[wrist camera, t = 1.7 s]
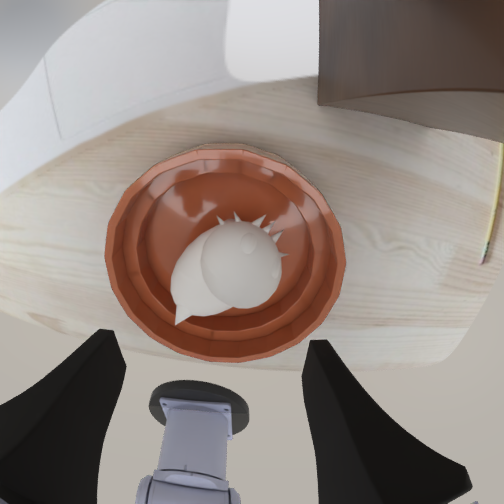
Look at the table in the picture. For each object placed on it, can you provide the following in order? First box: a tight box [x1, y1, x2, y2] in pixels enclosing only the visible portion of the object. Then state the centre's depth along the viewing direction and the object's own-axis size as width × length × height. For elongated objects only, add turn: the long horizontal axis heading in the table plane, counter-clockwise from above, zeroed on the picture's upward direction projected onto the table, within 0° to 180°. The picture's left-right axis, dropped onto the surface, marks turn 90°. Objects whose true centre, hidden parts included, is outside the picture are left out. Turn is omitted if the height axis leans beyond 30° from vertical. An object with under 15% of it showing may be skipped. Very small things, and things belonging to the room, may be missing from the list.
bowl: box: [105, 143, 346, 363], centre depth 16 cm, size 13×13×4 cm
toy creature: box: [170, 212, 289, 325], centre depth 15 cm, size 5×8×6 cm, turn 136°
